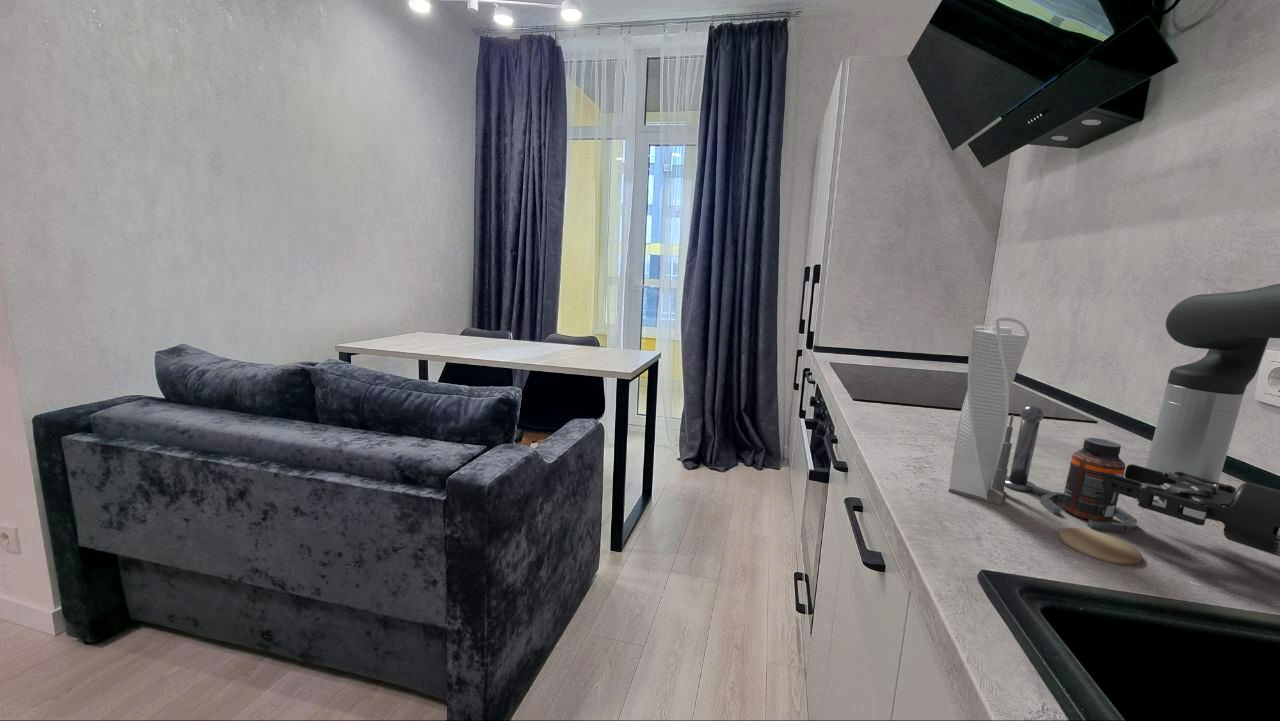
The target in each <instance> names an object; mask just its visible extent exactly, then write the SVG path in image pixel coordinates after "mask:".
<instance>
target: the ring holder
mask: <svg viewBox="0 0 1280 721" xmlns="http://www.w3.org/2000/svg"><path fill="white" fill-rule="evenodd" d="M1020 418H1021V421H1020V426H1019V428H1018V429H1019V431H1018V434H1017V440H1016V445H1015V450H1014V454H1013V460H1012V463H1011V464H1012V465H1011V469H1010V473H1009V474H1010V475H1007V476H1006V481H1005V486H1004V488H1005V487H1006V488H1008V489H1011V490H1014V491H1018V492H1023V493H1033V494H1037V495H1039V496H1041V498H1040V502H1039V503H1040V504H1041V505H1042V506H1043V507H1044V508H1045V509H1047V510H1048V511H1049V512H1051V514H1052V515H1058V516H1060V515H1061V511H1062V507H1060V506H1058V505H1057V504H1056V503H1055V502H1056V501H1061V502H1062V500H1063V495H1064V492H1057V491H1052V490H1048V489H1045V488H1043V487H1039V486H1037V485H1036V484H1035V483H1033V482H1031V481H1028V479H1029V475H1030V469H1031V465H1032V460H1033V456H1034V451H1035V446H1036V442H1037V438H1038V432H1039V428H1040V423H1041V421H1042V420H1044V412H1043V410H1042V409H1041V408H1040V407H1039V406H1037V405H1032V404H1030V405H1026V406H1024V407H1023V408H1022V409H1021V411H1020ZM1114 516H1115V517H1116V518H1117V519H1119V520H1120V521H1122V522H1120V523H1119V522H1114V521H1109V522H1108V521H1101V520H1094V519H1089V520H1088V522H1087V526H1088V527H1089V528H1090V529H1095V530H1103V531H1109V532H1115V533H1122V534H1123V533H1124V534H1125V533H1128V532H1129V531H1131V530H1133V529H1135V528H1136V527H1137V522H1138V520H1137V518H1135V517H1133V516H1132V515H1131V514H1129V513H1127V512H1126V511H1125V510H1123V509H1122V508H1120V507H1117V506H1116V509H1115V514H1114Z"/></svg>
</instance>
